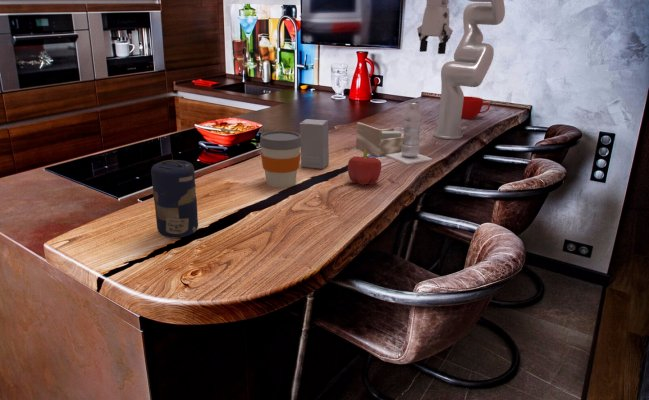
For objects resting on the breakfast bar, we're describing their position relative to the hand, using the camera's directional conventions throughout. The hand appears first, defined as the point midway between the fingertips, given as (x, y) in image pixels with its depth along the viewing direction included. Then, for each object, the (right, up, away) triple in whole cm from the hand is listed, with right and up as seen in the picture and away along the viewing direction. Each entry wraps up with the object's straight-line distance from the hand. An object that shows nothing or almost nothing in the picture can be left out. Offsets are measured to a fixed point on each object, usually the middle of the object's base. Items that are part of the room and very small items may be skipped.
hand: (432, 52), depth 184 cm
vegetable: (-28, -50, -29) cm, 64 cm away
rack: (-16, -35, +9) cm, 39 cm away
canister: (-75, -63, -66) cm, 118 cm away
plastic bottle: (-9, -39, -3) cm, 41 cm away
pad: (-9, -40, -3) cm, 41 cm away
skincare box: (-44, -44, -14) cm, 64 cm away
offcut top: (-15, -31, +8) cm, 35 cm away
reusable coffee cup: (-54, -50, -31) cm, 80 cm away
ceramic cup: (+35, -14, +67) cm, 77 cm away
